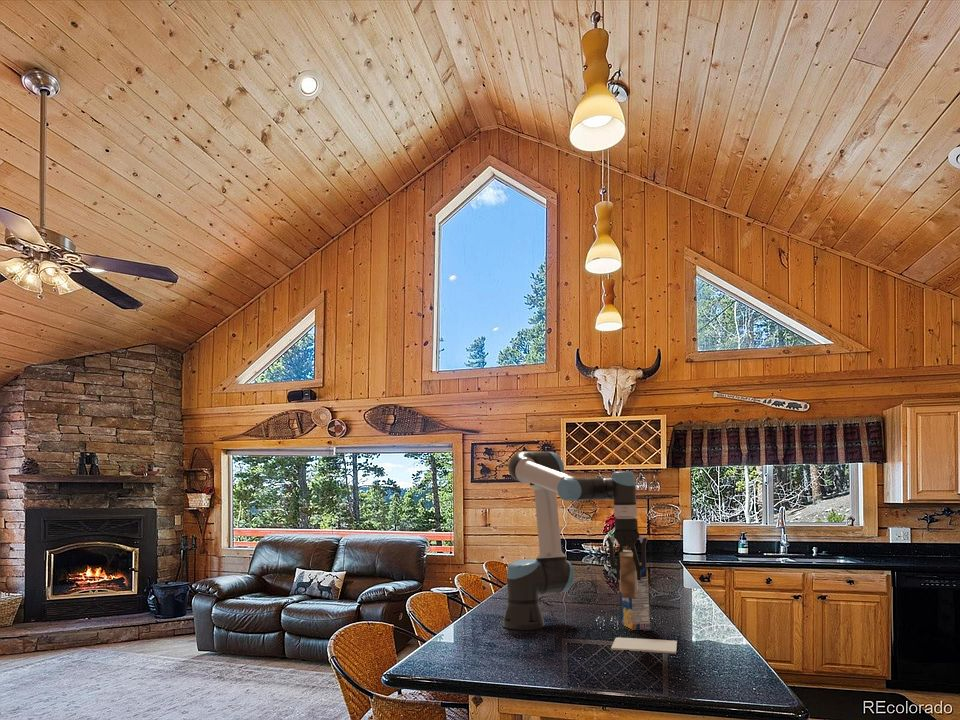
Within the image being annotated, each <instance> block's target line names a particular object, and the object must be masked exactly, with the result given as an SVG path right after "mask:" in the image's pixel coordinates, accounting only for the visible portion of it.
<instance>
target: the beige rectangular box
mask: <svg viewBox="0 0 960 720" xmlns="http://www.w3.org/2000/svg"><path fill="white" fill-rule="evenodd" d="M634 570H636V565H635V562H634V557H633V552H632V550H631V549H630V550H626V549H623V552H620V571H621V590H622V598H635V596H636V595H637V591H635V576H634Z"/></svg>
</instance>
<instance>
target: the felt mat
mask: <svg viewBox="0 0 960 720" xmlns="http://www.w3.org/2000/svg"><path fill="white" fill-rule="evenodd" d="M677 646H678V640H673V639H672V640H670V639H668V640H667V639H654V638H653V639H651V638H637V637H635V638H633V637H615V639H614V641H613V643H612V645H611V646H610V649H611V650H612V651H624V650H629V651H628V652H640V651H641V652H643V653H659V654H675V655H677V648H678V647H677Z"/></svg>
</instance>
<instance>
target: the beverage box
mask: <svg viewBox="0 0 960 720" xmlns="http://www.w3.org/2000/svg"><path fill="white" fill-rule="evenodd" d="M648 570H649V569H648V566H647V565H646V567H645V568H643V569H641V580H638V591H637V595H636V596H635V598H622V591H621V586H620V580H618V582H619V583H618V586H619V610H620V612H619V613H620V625H621V624H622V625H624V626H626V627H628V628H630V629H632V630H644V631H651V611H650V610H651V609H650V591H649V588H650V587H649V571H648ZM622 625H621V626H622ZM624 626H623V627H624ZM626 627H625V628H626ZM628 628H627V629H628ZM630 629H629V630H630ZM632 630H631V631H632Z"/></svg>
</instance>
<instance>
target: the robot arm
mask: <svg viewBox="0 0 960 720" xmlns="http://www.w3.org/2000/svg"><path fill="white" fill-rule="evenodd" d="M507 468H508V473H509V475H510V476H511V478H513V479H514V480H515V481H517V482H520V483H524V484H525V483H529V487H530V488H531V489H532V490H533V491H534V502H535V514H536V515H535V516H536V525H537V538H538V548H539V553H538V555H537V556H536V557H535V559H533V558H526V559H519V560H515V561H512V562H510V563H509V564H508V566H507V570H506V571H507V572H506V578H507V579H506V582H507V583H506V584H507V586H506V587H507V588H506V589H507V605H506V609H505V611H504V612H505V613H504V616H503V620H502V625H503V627H504V628H506V629H510V630H516V631H517V630H518V631H532V630H537V629H538V630H540V629H543V627H545V619H544V616H543V613H542V610H541V607H540V600H539V599H540V598H539V596H541V595H549V594H560V593H565V592H567V591H569V590H570V588H571V587H572V586H573V583H574V581H575V570H574V567H573V564H572V562H570V561H569V560H567V554H565V553H564V552H563V550H562V543H561V532H560V519H559V518H560V517H559V508H558V497H560V499H561V500H562V501H569V502H575V501H577V502H578V501H611V500H613V515H614V533H613V535H612V536H608V537H607V538H606V541H607V544H608V549H609V550H608V551H609V562H610V563H609V564H610V568H611V569H615V571H616V579H617V580H618V581H619V580H620V586H621V571H620V552H623V550H625V547H630V550H632V552H633V557H634V562H635V565H636V570H634V576H635V591H638V580H641V569H643V568H645V567H646V566H647V551H646V550H647V549H646V546H647V542H648V537H646V536H645V537H644V536H642V535H640V533H639V530H638V529H639V527H638V524H639V523H638V519H637V517H638V508H637V507H638V506H637V491H636V487H637V486H636V484H637V483H636V479H635V477H636V476H635V473H634V472H633V471H613V472H612V476H611V477H580V478H579V477H575V476H572V475H570V474H567V473H565V467H564V462H563V459H562V458H561V457H560V456H559V454H557V453H556V452H554V451H547V450H546V451H536V450H535V451H528V450H527V451H525V450H524V451H518V452H517V453H515V454H514V455H513V456H511V458H510V459H509V462H508V467H507ZM557 496H558V497H557ZM615 540H616V542H617V543H618V544H619V546H618V551H617V559H616V560H615V549H614V547H615V546H614V543H615ZM638 540H639V542H640V544H641V546H640V547H641V550H640V551H641V552H640V553H641V564H640V559H639V556H638V553H637V547H636V543H637V542H638ZM621 591H622V590H621Z"/></svg>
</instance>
